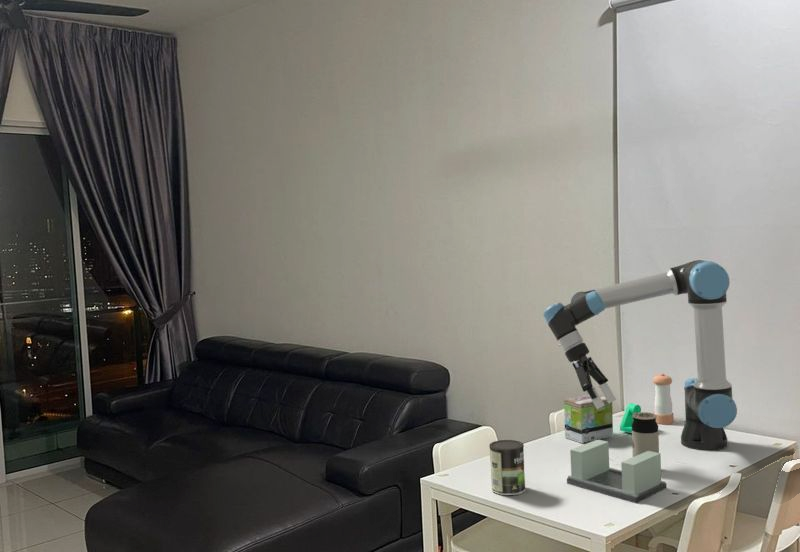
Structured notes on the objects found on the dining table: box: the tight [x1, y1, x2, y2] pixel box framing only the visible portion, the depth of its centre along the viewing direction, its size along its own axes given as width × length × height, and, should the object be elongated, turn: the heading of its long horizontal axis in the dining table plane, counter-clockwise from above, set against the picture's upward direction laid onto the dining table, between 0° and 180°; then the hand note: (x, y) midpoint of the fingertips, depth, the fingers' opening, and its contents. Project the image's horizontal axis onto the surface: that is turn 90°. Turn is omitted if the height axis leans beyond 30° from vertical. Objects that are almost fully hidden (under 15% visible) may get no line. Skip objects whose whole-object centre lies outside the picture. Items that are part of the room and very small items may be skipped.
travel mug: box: [631, 411, 660, 457], centre depth 233 cm, size 8×8×18 cm
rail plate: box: [566, 466, 667, 504], centre depth 222 cm, size 24×16×2 cm, turn 40°
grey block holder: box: [569, 439, 662, 494], centre depth 221 cm, size 22×14×9 cm, turn 40°
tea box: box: [563, 394, 614, 444], centre depth 272 cm, size 15×10×15 cm, turn 118°
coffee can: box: [488, 439, 526, 496], centre depth 223 cm, size 10×10×14 cm
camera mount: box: [619, 403, 642, 434], centre depth 276 cm, size 12×8×10 cm, turn 122°
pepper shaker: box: [652, 372, 675, 425], centre depth 286 cm, size 7×7×19 cm
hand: (606, 404), depth 239 cm, fingers open, 13 cm apart
